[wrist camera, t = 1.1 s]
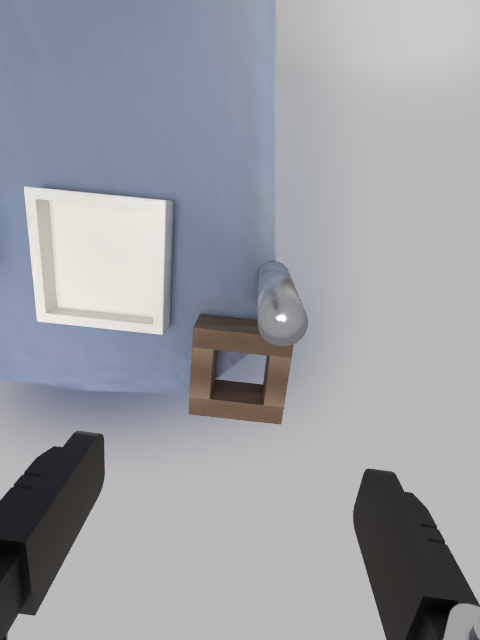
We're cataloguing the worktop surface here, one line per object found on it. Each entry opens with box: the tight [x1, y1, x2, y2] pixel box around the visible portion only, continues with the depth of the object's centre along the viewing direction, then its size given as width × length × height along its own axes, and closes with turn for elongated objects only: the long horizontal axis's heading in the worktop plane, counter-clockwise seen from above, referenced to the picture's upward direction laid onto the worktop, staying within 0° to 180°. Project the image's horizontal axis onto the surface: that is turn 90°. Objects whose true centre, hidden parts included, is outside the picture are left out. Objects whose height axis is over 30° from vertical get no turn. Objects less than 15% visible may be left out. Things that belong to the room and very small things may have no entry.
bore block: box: [189, 314, 293, 424], centre depth 31 cm, size 8×8×4 cm
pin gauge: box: [258, 261, 308, 346], centre depth 24 cm, size 3×3×12 cm
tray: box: [24, 187, 174, 335], centre depth 29 cm, size 11×11×2 cm
